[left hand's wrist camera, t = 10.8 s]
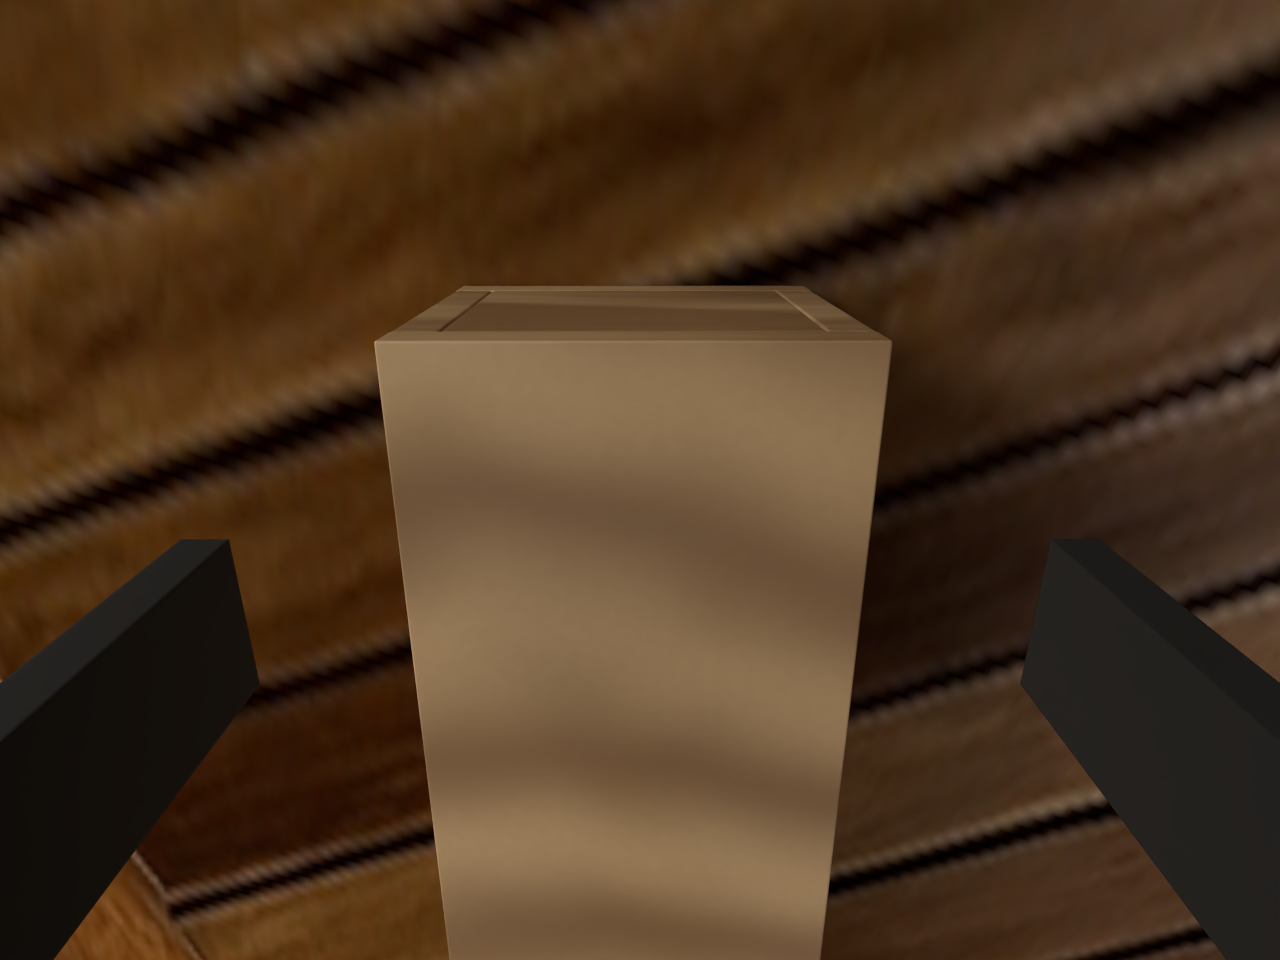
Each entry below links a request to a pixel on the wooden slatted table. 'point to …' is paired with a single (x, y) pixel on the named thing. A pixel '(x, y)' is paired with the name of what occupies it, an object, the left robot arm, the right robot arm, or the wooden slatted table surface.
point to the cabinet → (634, 608)
